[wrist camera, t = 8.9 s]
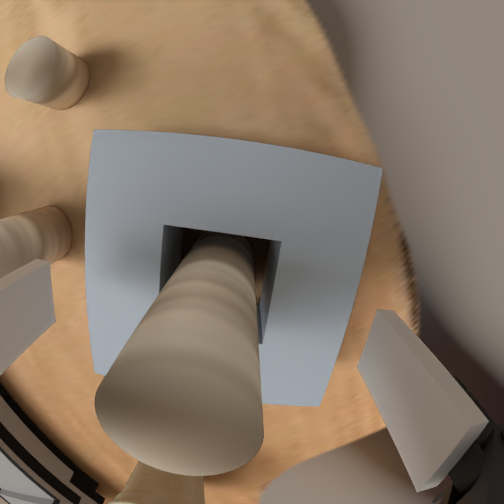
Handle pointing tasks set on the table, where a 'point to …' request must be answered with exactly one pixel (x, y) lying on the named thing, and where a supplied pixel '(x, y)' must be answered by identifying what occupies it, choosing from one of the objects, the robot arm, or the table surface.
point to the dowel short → (46, 74)
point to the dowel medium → (33, 238)
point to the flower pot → (160, 488)
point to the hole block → (232, 222)
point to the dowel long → (192, 368)
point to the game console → (37, 464)
